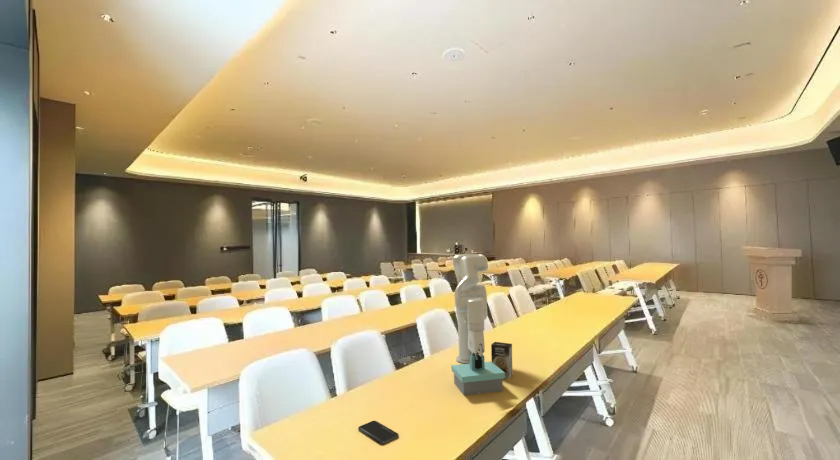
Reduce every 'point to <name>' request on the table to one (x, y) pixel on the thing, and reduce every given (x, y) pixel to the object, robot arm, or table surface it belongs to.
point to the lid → (477, 371)
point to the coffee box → (502, 357)
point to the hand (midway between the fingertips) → (477, 366)
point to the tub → (478, 386)
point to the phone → (378, 432)
